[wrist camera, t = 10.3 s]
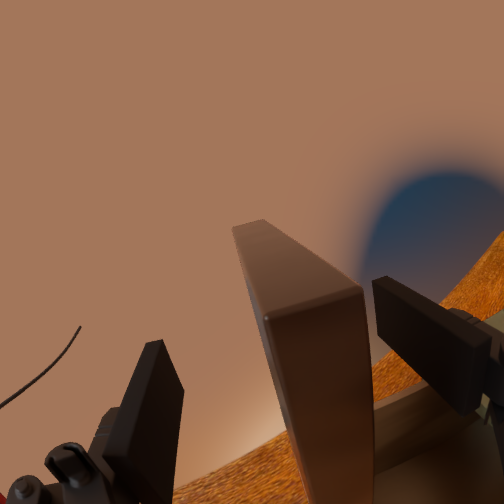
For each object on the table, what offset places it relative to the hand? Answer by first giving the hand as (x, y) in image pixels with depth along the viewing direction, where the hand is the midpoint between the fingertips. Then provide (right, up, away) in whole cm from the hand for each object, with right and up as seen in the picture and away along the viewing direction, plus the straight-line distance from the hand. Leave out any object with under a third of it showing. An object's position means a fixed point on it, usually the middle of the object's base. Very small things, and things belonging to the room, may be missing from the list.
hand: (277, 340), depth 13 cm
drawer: (+11, -13, -1) cm, 17 cm away
